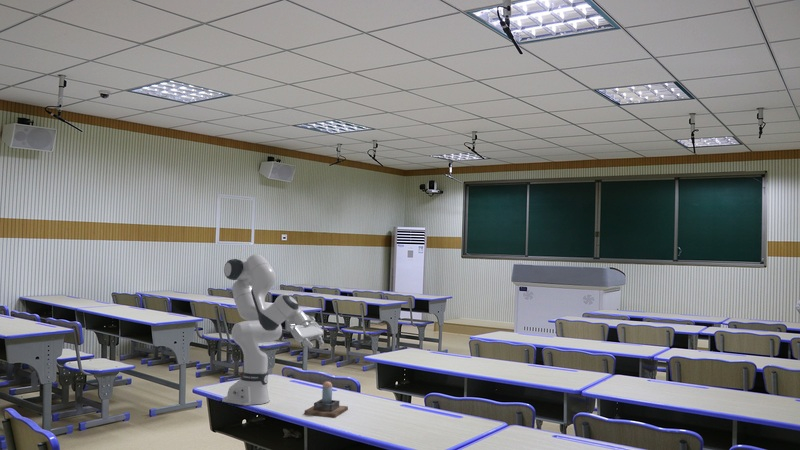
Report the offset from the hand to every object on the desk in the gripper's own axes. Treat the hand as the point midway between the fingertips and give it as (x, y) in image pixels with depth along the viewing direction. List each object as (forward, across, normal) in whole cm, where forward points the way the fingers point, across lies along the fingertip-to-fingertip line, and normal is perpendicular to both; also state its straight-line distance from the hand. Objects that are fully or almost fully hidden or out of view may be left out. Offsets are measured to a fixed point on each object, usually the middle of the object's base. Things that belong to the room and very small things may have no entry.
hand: (317, 345), depth 287 cm
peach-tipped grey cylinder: (+24, -1, +15) cm, 29 cm away
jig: (+25, -1, +16) cm, 30 cm away
